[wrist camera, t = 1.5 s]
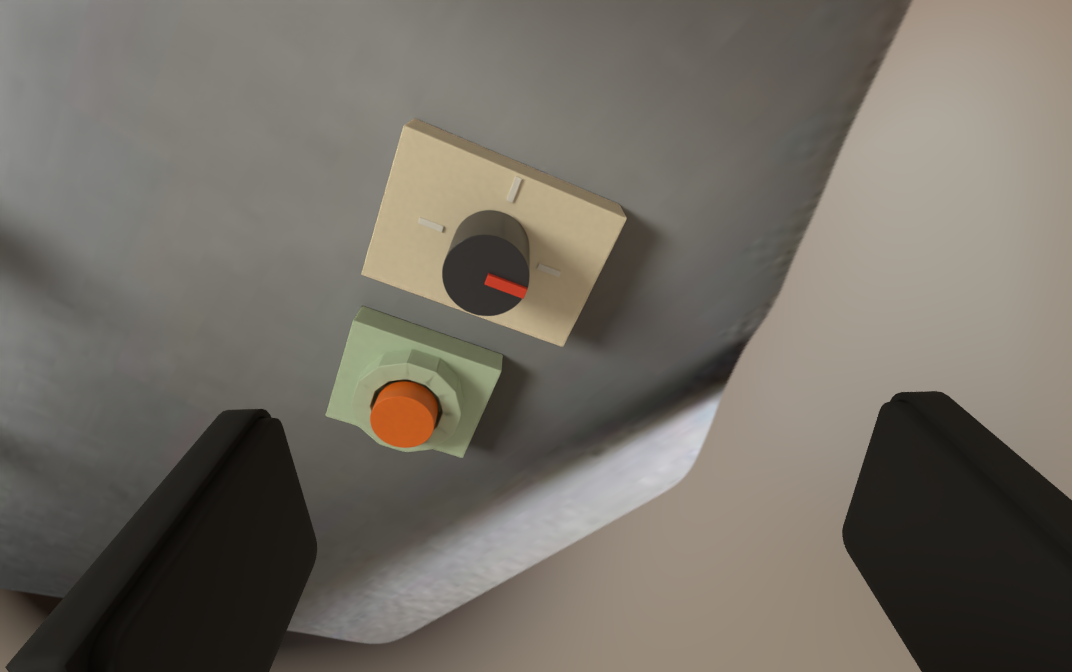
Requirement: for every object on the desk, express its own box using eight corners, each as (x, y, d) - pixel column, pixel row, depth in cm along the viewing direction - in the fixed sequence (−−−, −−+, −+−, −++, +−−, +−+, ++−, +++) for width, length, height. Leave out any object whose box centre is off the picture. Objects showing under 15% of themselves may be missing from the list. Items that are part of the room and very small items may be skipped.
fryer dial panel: (373, 257, 35) (360, 276, 32) (414, 117, 31) (402, 125, 29) (560, 326, 38) (563, 349, 35) (620, 204, 34) (628, 219, 31)
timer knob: (442, 267, 32) (429, 301, 28) (467, 197, 31) (457, 223, 26) (512, 293, 33) (510, 330, 29) (541, 227, 31) (543, 256, 27)
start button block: (335, 398, 40) (316, 432, 37) (362, 305, 37) (344, 333, 33) (465, 439, 42) (459, 475, 39) (503, 354, 39) (500, 386, 35)
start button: (369, 420, 37) (362, 437, 35) (385, 372, 35) (379, 388, 34) (427, 438, 38) (423, 455, 36) (446, 392, 36) (442, 408, 34)
